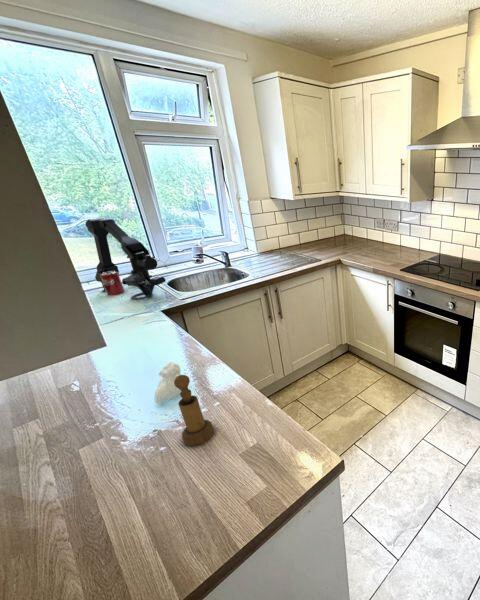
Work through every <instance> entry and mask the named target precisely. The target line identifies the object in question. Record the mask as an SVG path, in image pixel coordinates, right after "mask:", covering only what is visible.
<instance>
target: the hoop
mask: <svg viewBox="0 0 480 600" xmlns="http://www.w3.org/2000/svg"><path fill="white" fill-rule="evenodd" d="M153 295H154V293H153V292H152V296H153ZM152 296H149V295H148V296H145V295H144V293H143V292H139V293H135V294H133V295H131V296H130V300H131V301H140V300H145V299H149V298H151V297H152Z"/></svg>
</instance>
